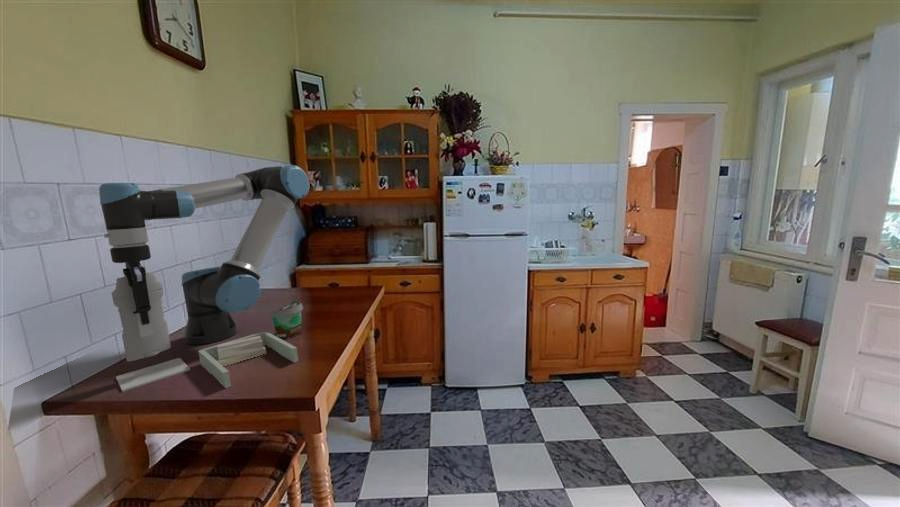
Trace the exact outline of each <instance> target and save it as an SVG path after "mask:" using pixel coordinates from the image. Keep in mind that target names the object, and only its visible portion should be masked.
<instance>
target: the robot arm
mask: <svg viewBox="0 0 900 507" xmlns="http://www.w3.org/2000/svg"><path fill="white" fill-rule="evenodd" d="M98 191H99V204H100V206H101V210H102V215H103V219H104V224H105V228H106V232H107V233H104V235H103V237H104V238H105V239H107V238H108V244H109V246H111V248H110V249H109V252H110V256H111V261H112V263H115V264H124V263H125V268H122V274H123V276H124V277H125V276H126V277H127V279H128V284H129V286H130V287H132V290H133V296H134V300H135V305H136V311H134V312H133V314H136V316H137V322H138V327H139V332H140V337H141V338H142V337H146V336H150V335H154V331H153V325H152V320H151V314H150V310H151V306H150V301H149V295H148V289H147V282H146V273H147V271H146V268H145V266H143V265H142V264H141V261H147V260H149V259H151V256H152V255H151V249H150V246H149V245H148V244H147V243H149V237H148V232H147V226H146V222H145V221H152V220H166V219H168V220H170V219H182V218H188V217H191V216H193V215H194V213H195V210H196V209H199V208H206V207H209V206H215V205H219V204H220V205H221V204H223V203H228V202H233V201H239V200H242V201H246V202H247V201H248V202H249V201H252V200H261V201H260V202H259V205H258V206H257V209H256V210H255V212H254V215H253V216H252V218H251V220H250V223H249V224H248V226H247V227H246V230H245V232H244V233H243V235H242V238H241V239H240V241H239V244H238V245H237V247H236V249H235V251H234V253H233V254H232V256H231V258H230V259H229V260H228V261H227V260H226V261H224V262H223V263H222V264H221V266H214V267H207V268H202V269H198V270H197V269H196V270H192V271H191V270H190V271H187V272H184V273H183V274H182V275H181V286H182V291H183V297H184V301H185V302H184V303H185V307H186V313H187V322H186V326H185V331H184V341H185V344H188V345H205V344H212V343H215V342H220V341H223V340H226V339H229V338H231V337H233V336H235V335H236V334H237V333H238V332H239V327H238V323H237V322H236V320H235V318H234V316H233V315H232V313H239V312H240V313H241V312H244V311H246V310H249V309H250V308H252V307H253V306H254V305H255V304H256V303H257V302H258V300H259V298H260V296H261V291H262V289H261V288H260V287H261V284H260V282H259V281H260V279H261V275H260V272H259V269H260V267H261V266H262V263H263V261H264V259H265V257H266V255H267V253H268V251H269V249H270V248H271V247H270V246H271V244H272V243H273V240H274V238H275V237H276V234H277V232H278V230H279V228H280V226H281V224H282V222H283V219H284V218H285V216H286V214H287V212H288V210H293V209H294V208H295V205H296V204H297V202H298V201H299V199H303V198H304V197H306V196H307V195H308V193H309V192H310V180H309V177H308V175H307V173H306V172H305V171H304V170H303V168H301V167H300V166H298V165H295V164H284V165H280V166H279V165H278V166H268V167H262V168H258V169H255V170H252V171H247V172H243V173H237V174H236V175H235V176H234V177H232V178H231V177H230V178H224V179H216V180H212V181H206V182H199V183H198V182H197V183H192V184H185V185H179V186H173V187H167V188H160V189H156V190H141V189H140V187H139V185H138V184H137V183H135V182H107V183H106V182H105V183H102V184H101V185H100V186H99V187H98ZM131 281H132V282H131Z"/></svg>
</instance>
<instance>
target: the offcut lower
mask: <svg viewBox="0 0 900 507" xmlns="http://www.w3.org/2000/svg"><path fill="white" fill-rule="evenodd" d="M263 354H266V355H267V349H266V346H265V345H263V349H262V350H258V351H253V352H249V353H245V354H241V355H237V356H232V357H228V358H224V359H220V360H219V356H218V354H216V355H215V360H216V361H218V362H219V363H220V364H221V365H222V366H225V367H228V366H232V365H235V364H238V363H241V362H240V361H242V362H244V361H243V360H245V361H247V360H246V359H249V360H251V359H250V358H252V359H254V358H253V357H256V358H258V357H257V356H259V357H261V356H260V355H262V356H264V355H263ZM237 362H238V363H237ZM234 363H235V364H234ZM231 364H232V365H231ZM227 365H228V366H227Z"/></svg>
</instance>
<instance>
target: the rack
mask: <svg viewBox="0 0 900 507" xmlns="http://www.w3.org/2000/svg"><path fill="white" fill-rule="evenodd" d="M257 336H260V337H261V339H262V343H263V346H266V345H267V346H268V347H267V346H266V347H267V348H269V347H270V348H272V349H273V350H272V349H271V350H272V351H274V350H275V351H276V352H275V351H274V352H275V353H277V352H278V353H277V354H279V355H280V356H282V357H283V358H285V359H287V360H289V361H290V362H292V363H294V364H295V363H297V362H299V356H298V355H299V354H298V348H297V347H296V346H294V345H293V344H291V343H289V342H287V341H285V339H280V338H278V337H277V336H276V335H275V334H272V333H270V332H269V331H267V330H264V331H261V332H256V333H253V334H250V335H247V336H244V337H240V338H237V339H236V338H235V339H234V340H230V341H226V342H224V343H219V344H215V345H212V346H209V347H206V348H202V349H199V350H198V357H199V362H200V365H201V366H202V367H203V368H204V369H205V370H206V371H207V372H208V373H209V374H210V375H211V374H212V375H213V376H214V377H215V378H216V379H217V380H218V381H219V382H218V381H217V380H216V379H215V378H214V377H213V376H212V375H211V376H212V377H213V378H214V379H215V380H216V381H217V382H218V383H219V384H221V385H222V386H223V387H224V389H228V388H231V387H232V383H231V376H230V371H229V370H228V369H227V368H226V366H225V367H223V366H222V365H221V364H220V363H219V362H218V361H216V360H215V355H216V354H218V349H217V345H221V344H226V343H230V342H235V341H239V340H244V339H248V338H253V337H257ZM264 344H265V345H264ZM270 348H269V349H270Z"/></svg>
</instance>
